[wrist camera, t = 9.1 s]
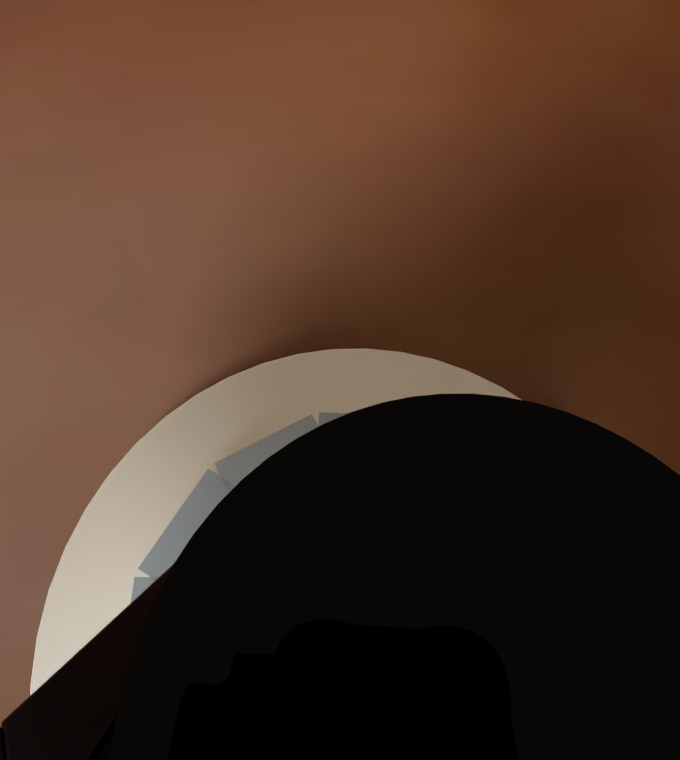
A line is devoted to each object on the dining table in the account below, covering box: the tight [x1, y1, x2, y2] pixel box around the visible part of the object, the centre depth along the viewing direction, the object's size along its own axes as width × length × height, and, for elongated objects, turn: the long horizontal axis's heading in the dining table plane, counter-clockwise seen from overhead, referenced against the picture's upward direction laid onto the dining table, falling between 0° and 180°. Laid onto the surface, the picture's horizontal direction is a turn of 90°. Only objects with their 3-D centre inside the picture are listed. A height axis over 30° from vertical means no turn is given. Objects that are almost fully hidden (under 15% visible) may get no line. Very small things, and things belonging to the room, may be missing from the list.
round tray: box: [30, 348, 521, 696], centre depth 16 cm, size 18×18×2 cm
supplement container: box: [110, 394, 680, 760], centre depth 10 cm, size 7×7×10 cm
